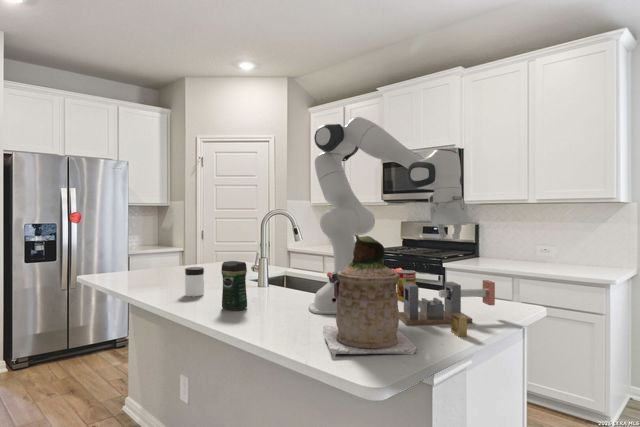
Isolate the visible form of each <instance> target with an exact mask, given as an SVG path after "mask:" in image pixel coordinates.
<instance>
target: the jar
mask: <svg viewBox="0 0 640 427" xmlns="http://www.w3.org/2000/svg"><path fill="white" fill-rule="evenodd" d="M184 271H185V272H184V273H185V277H184V282H185V283H184V285H185V286H184V288H185V289H184V290H185V291H184V292H185V294H184V295H185V296H184V297H191V296H192V297H195V296H196V297H201V296H204V295H205V268H204V267H202V266H193V267H186V268H185V269H184ZM196 297H195V298H196Z"/></svg>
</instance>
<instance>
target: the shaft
mask: <svg viewBox="0 0 640 427" xmlns="http://www.w3.org/2000/svg"><path fill="white" fill-rule="evenodd" d="M495 291H496V282H495V281H492V280H489V279H482V288H474V289H473V288H470V289H469V288H468V289H466V288H465V289H462V288H461V298H477V297H482V303H484V304H486V305H487V306H495V305H496V296H495V295H496V292H495ZM438 297H439V298H441V299H442V298H446V297H451V290H444V289H439V290H438Z"/></svg>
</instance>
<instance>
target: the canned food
mask: <svg viewBox="0 0 640 427" xmlns="http://www.w3.org/2000/svg"><path fill="white" fill-rule="evenodd" d="M396 273H398V274H399V275H400V279H399V280H398V282H397V283H396V292H397V296H398V302H404V283H413V284H415V285H417V283H416V282H417V281H416V280H417V279H416V277H417V275H416V273H417V271H415V270H412V269H400V270H399V269H398V270H396Z"/></svg>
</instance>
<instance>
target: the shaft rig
mask: <svg viewBox="0 0 640 427" xmlns="http://www.w3.org/2000/svg"><path fill="white" fill-rule="evenodd" d="M443 290H451V297H446V298H444V303H443V300H441V299H439V298H438V297H433V298H432V300H429V299H427V298H425V297H422V298H421V300H419V286H418V285H417V284H416V285H415V284H413V283H404V301H403V311H399V314H400V318H399V321H401V322H402V323H403V324H404V325H405V326H429V325H430V326H432V325H451V313H460V314H461V315H463V316H465V317H466V318H467V324H473V318H472V317H471V316H468V315H467V314H465V313H463V312H462V307H461V306H462V300H461V299H462V297H461V290H462V285H461V284H459V283H456V282H454V281H444V289H443Z"/></svg>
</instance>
